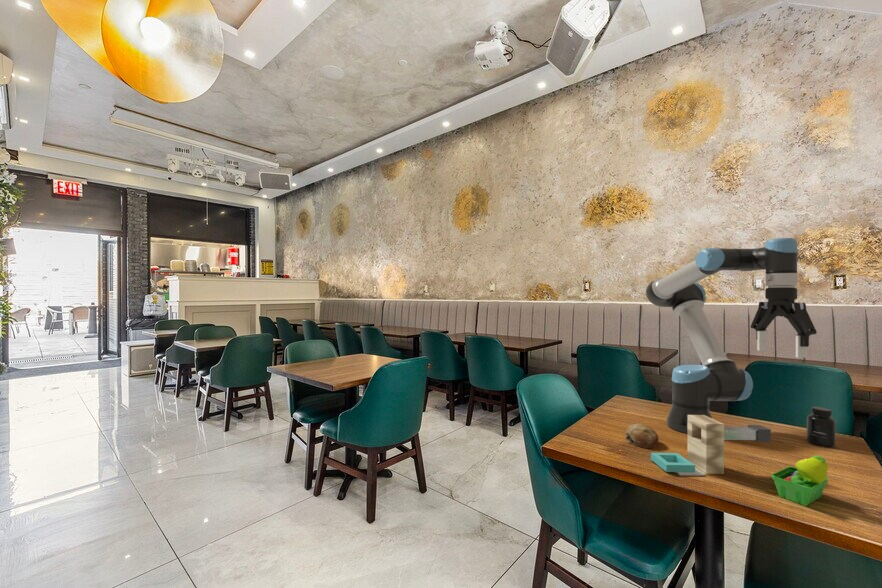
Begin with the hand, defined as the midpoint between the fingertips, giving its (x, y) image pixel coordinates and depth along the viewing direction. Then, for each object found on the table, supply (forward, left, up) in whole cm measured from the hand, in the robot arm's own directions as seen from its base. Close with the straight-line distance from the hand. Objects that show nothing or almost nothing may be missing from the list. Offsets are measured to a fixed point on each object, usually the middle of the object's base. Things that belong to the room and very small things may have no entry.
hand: (780, 353), depth 118 cm
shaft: (+10, -22, -24) cm, 34 cm away
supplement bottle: (-8, +21, -32) cm, 39 cm away
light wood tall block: (+10, -31, -32) cm, 45 cm away
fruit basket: (+26, -18, -32) cm, 45 cm away
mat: (+10, -38, -32) cm, 50 cm away
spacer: (+10, -37, -30) cm, 48 cm away
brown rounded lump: (-8, -39, -32) cm, 52 cm away
